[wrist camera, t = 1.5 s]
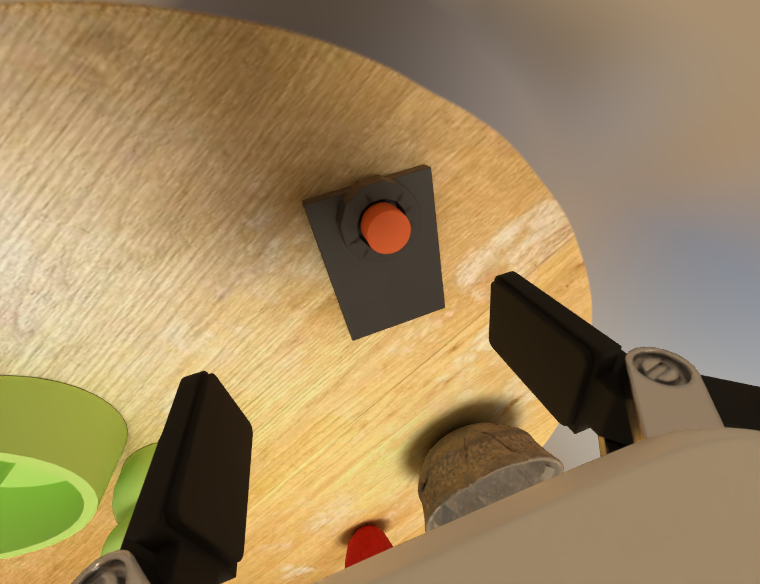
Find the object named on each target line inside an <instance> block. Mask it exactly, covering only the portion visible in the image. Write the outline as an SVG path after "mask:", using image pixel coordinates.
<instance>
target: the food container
mask: <svg viewBox="0 0 760 584" xmlns="http://www.w3.org/2000/svg"><path fill="white" fill-rule="evenodd" d="M127 435H128V432H127V427H126V423H125V421H124V420H123V418H122V416H121V415H120V414H119V413H118V412H117V411H116V410H115V409H114V408H113V407H112V406H111V405H110V404H108V403H107V402H105V401H104V400H102V399H101V398H99V397H97V396H96V395H93V394H91V393H89V392H87V391H84V390H82V389H80V388H77V387H73V386H70V385H67V384H63V383H60V382H55V381H50V380H44V379H39V378H32V377H19V376H0V559H4V558H10V557H14V556H18V555H22V554H26V553H30V552H34V551H37V550H39V549H42V548H45V547H48V546H51V545H53V544H56V543H58V542H60V541H62V540H64V539H66V538H68V537H70V536H72V535H73V534H75V533H76V532H78V531H79V530H81V529H82V528H83V527H84V526H85V525H86V524H87V523H88V522H90V521H91V519H92V518H93V516H94V514H95V512H96V511H97V509H98V506H99V504H100V502H101V499H102V497H103V495H104V493H105V490H106V488H107V486H108V483H109V481H110V479H111V476H112V474H113V472H114V470H115V467H116V465H117V463H118V460H119V458H120V456H121V453H122V451H123V449H124V447H125V444H126V441H127ZM157 444H158V443H155V444H152V445H149V446H146V447H144V448H142V449H140V450H138V451H137V452H135V453H134V454H132V455H131V456H130V457H129V458H128V459H127V460H126V462H125V464H124V466H123V468H122V471H121V473H120V476H119V478H118V480H117V483H116V485H115V489H114V494H113V501H112V508H113V513H114V516H115V519H116V521H117V523H118V525H117V526H116V527H115V528H114V529H113V531H112V532H111V533H110V534H109V536H108V538H107V539H106V541H105V543H104V545H103V548H102V552H101V556H100V557H102V556H103V555H105V554H107V553H109V552H112V551H115V550H120V548H121V545H122V542H123V539H124V536H125V534H126V531H127V528H128V525H129V522H130V519H131V517H132V514H133V511H134V508H135V505H136V503H137V500H138V497H139V494H140V491H141V489H142V486H143V483H144V480H145V477H146V475H147V472H148V469H149V466H150V463H151V460H152V458H153V455H154V452H155V449H156V446H157Z"/></svg>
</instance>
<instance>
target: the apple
mask: <svg viewBox="0 0 760 584" xmlns="http://www.w3.org/2000/svg"><path fill="white" fill-rule="evenodd" d="M392 547H393V546H392V544H391V543H390V541H389V540H388V538H387V537H386V535H385V534H384V532H383V531H382V530H381V529H379V528H377V527H376V526H374V525H365V526H362V527H360V528H359V529H358V530H357V531H356V532H355V534H354V535H353V537H352V538H351V540H350V542H349V543H348V547H347V553H346V560H345V568H348V567H350V566H352V565H354V564H356V563H359V562H361V561H363V560H365V559H368V558H370V557H372V556H374V555H377V554H379V553H381V552H383V551H386V550H388V549H390V548H392Z"/></svg>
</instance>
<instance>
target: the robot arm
mask: <svg viewBox="0 0 760 584" xmlns="http://www.w3.org/2000/svg"><path fill="white" fill-rule="evenodd" d="M489 342H490V344H491V346H492V348H493V349H494V350H495V351H496V352H497V353H498V354H499V356H500V357H501V358H502V359H503V360H504V361H505V362H506V363H507V365H508V366H509V367H510V368H511V369H512V370H513V371H514V372H515V374H516V375H517V376H518V377H519V378H520V379H521V380H522V381H523V383H524V384H525V385H526V386H527V387H528V388H529V389H530V390H531V392H532V393H533V394H534V395H535V396H536V397H537V398H538V399H539V401H540V402H541V403H542V404H543V405H544V406H545V407H546V408H547V410H548V411H549V412H550V413H551V414H552V415H553V416H554V417H555V419H556V420H557V421H558V422H559V423H560V424H562V425H563V426H568V427H569V428H570V429H571V430H572V431H573V433H574V434H577V433H579V432H581V431H584V430H586V429H588V428H591V429H592V430H593V431H594V432H595V433H596V434H597V435H598V441H599V449H600V456H601V457H600V458H597V459H595V460H592V461H590V462H587V463H585V464H582V465H580V466H578V467H576V468H573V469H571V470H569V471H566V472H564V473H562V474H559V475H557V476H555V477H552V478H550V479H548V480H546V481H543V482H541V483H539V484H536V485H534V486H532V487H529V488H527V489H525V490H522V491H520V492H518V493H516V494H513V495H511V496H509V497H506V498H504V499H502V500H499V501H497V502H495V503H493V504H490V505H488V506H486V507H483V508H481V509H479V510H477V511H474V512H472V513H470V514H467V515H465V516H463V517H461V518H458V519H456V520H454V521H452V522H449V523H447V524H445V525H442V526H440V527H438V528H436V529H433V530H431V531H429V532H427V533H424V534H422V535H420V536H417V537H415V538H413V539H411V540H408V541H406V542H404V543H402V544H399V545H397V546H395V547H392V548H390V549H388V550H386V551H383V552H381V553H379V554H377V555H374V556H372V557H370V558H368V559H365V560H363V561H361V562H359V563H356V564H354V565H352V566H350V567H348V568H345V569H343V570H341V571H339V572H336V573H334V574H332V575H330V576H327V577H325V578H323V579H321V580H318V581H316V582H314V583H312V584H760V387H758V386H752V385H748V384H743V383H738V382H733V381H728V380H723V379H718V378H714V377H709V376H703V375H700V374H699V372H698V371H697V369H696V368H695V366H693V365H692V364H691V363H690V362H689V361H687V360H686V359H684V358H683V357H681V356H679V355H677V354H675V353H672V352H670V351H667V350H664V349H659V348H655V347H639V348H634V349H632V350H630V351H629V352H628V353H625V352H624V351H622V350H621V346H620V345H619V344H618V343H616V342H615V341H613V340H612V339H610V338H609V337H608V336H606V335H605V334H603V333H602V332H600V331H599V330H597V329H596V328H594V327H593V326H592V325H590V324H589V323H588V322H586V321H585V320H583V319H582V318H580V317H579V316H578V315H576V314H575V313H573V312H572V311H570V310H569V309H568V308H566V307H565V306H563V305H562V304H560V303H559V302H558V301H556V300H555V299H553V298H552V297H550V296H549V295H547V294H546V293H545V292H543V291H542V290H540V289H539V288H537V287H536V286H535V285H533V284H532V283H530V282H529V281H527V280H526V279H525V278H523V277H522V276H520V275H519V274H517V273H516V272H514V271H511V272H508V273H504V274H501V275H498V276H496V277H495V280H494V281H493V282H492V283H491V298H490V322H489ZM252 438H253V431H252V426H251V424H250V422H249V421H248V419H247V418H246V417H245V415H244V414H243V412H242V411H241V410H240V408H239V407H238V406H237V404H236V403H235V401H234V400H233V399H232V397H231V396H230V395H229V393H228V392H227V390H226V389H225V388H224V386H223V385H222V383H221V382H220V381H219V379H218V378H217V377H216V375H215V374H213V373H211V374H208V373H207V372H206V371H202V372H198V373H195V374H192V375H189V376H186V377H184V378H182V380H181V382H180V384H179V387H178V390H177V393H176V396H175V398H174V401H173V404H172V407H171V410H170V413H169V415H168V418H167V421H166V424H165V427H164V430H163V432H162V435H161V437H160V439H159V441H158V444H157V446H156V449H155V452H154V455H153V458H152V460H151V463H150V466H149V469H148V472H147V475H146V477H145V480H144V483H143V486H142V489H141V491H140V494H139V497H138V500H137V503H136V505H135V508H134V511H133V514H132V517H131V519H130V522H129V525H128V528H127V531H126V534H125V536H124V539H123V542H122V545H121V548H120V550H115V551H112V552H109V553H107V554H105V555H103V556H102V557H100V558H98V559H97V560H95V561H94V562H93V563H91V564H90V565H89V566H88V567H87V568H86V569H84V570H83V571H82V572H81V573H80V574H79V576H78V577H77V578H76V579H75V580H74V581H73V582H72V583H71V584H221V583H223V582H226V581H228V580H230V579H233V578H235V577H236V571H237V562H240V561H241V559H242V557H243V553H244V543H245V530H246V517H247V503H248V490H249V477H250V464H251V451H252Z"/></svg>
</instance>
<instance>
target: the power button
mask: <svg viewBox="0 0 760 584" xmlns="http://www.w3.org/2000/svg"><path fill="white" fill-rule="evenodd" d="M360 226H361V231H362V234H363V236H364V237H365V239H366V240H367V242H368V243H369V245H370V246H371V248H372V249H373V250H375V251H376V252H378V253H382V254H391V253H394V252H397V251H399V250H400V249H401V248H402V247H404V245H405V244H406V243H407V241H408V239H409V237H410V233H411V226H410V222H409V220H408V218H407V217H406V216H405V215H404V214H403V213H402V212H401V211H400V210H399V209H398V208H396V207H395V206H394V205H392V204H391V203H387V202H379V203H376V204H373V205H372V206H370V207H369V208H368V209H367V210H366V211H365V212H364V214H363V216H362V218H361V224H360Z"/></svg>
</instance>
